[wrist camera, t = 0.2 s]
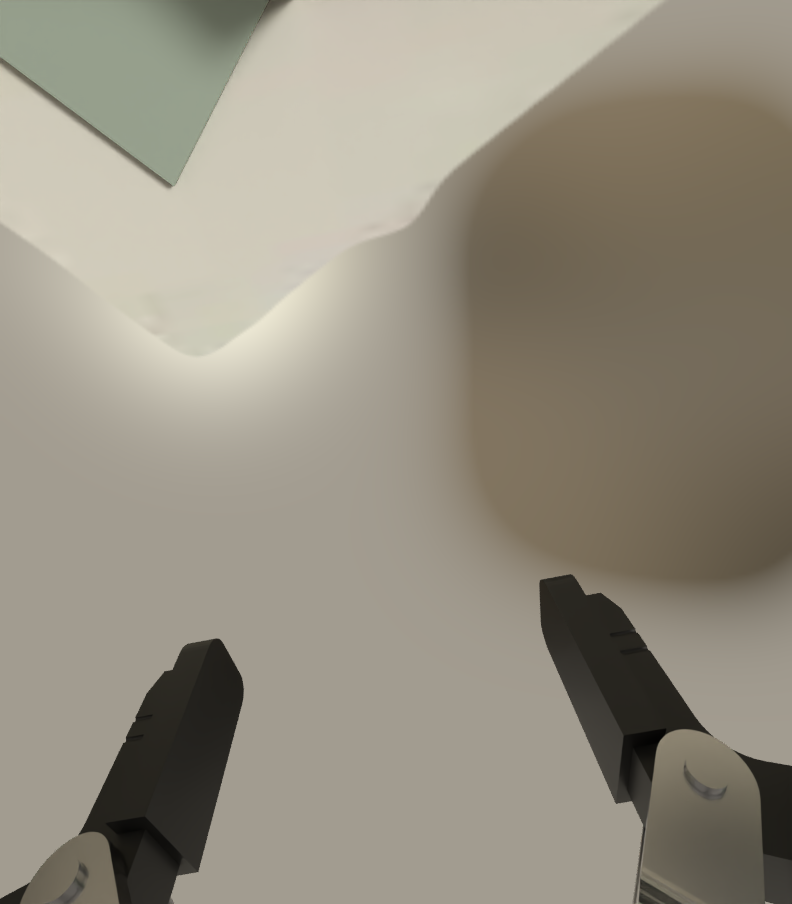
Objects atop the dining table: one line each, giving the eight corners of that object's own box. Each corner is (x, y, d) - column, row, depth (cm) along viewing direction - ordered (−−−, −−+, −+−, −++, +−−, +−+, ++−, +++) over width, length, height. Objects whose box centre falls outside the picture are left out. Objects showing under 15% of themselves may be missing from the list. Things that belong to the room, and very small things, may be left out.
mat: (-54, 11, 23) (-61, 11, 22) (0, -309, 17) (-8, -316, 16) (175, 183, 29) (173, 186, 29) (270, -3, 23) (269, -3, 23)
